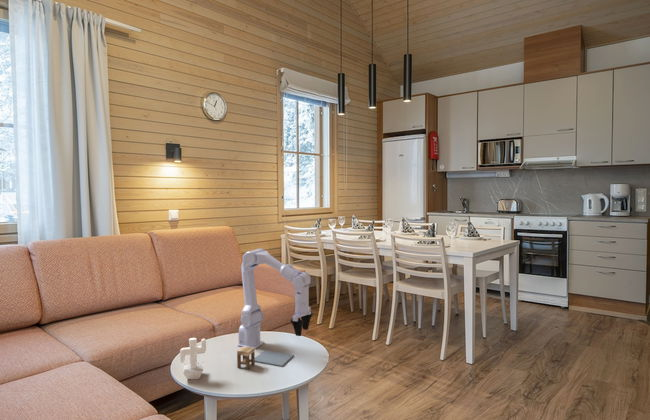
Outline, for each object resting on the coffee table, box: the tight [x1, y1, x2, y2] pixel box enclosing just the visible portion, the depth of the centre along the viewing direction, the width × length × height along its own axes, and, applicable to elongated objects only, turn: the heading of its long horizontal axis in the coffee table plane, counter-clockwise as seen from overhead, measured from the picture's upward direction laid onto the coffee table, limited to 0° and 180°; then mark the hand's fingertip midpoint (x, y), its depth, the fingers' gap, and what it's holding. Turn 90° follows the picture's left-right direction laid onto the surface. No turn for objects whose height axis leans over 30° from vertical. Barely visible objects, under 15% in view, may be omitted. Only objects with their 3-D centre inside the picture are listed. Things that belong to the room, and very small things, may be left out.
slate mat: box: [255, 349, 295, 368], centre depth 176 cm, size 14×11×1 cm
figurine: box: [179, 337, 207, 380], centre depth 160 cm, size 7×9×15 cm
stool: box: [236, 346, 256, 370], centre depth 169 cm, size 5×5×7 cm
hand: (302, 332), depth 179 cm, fingers open, 7 cm apart
